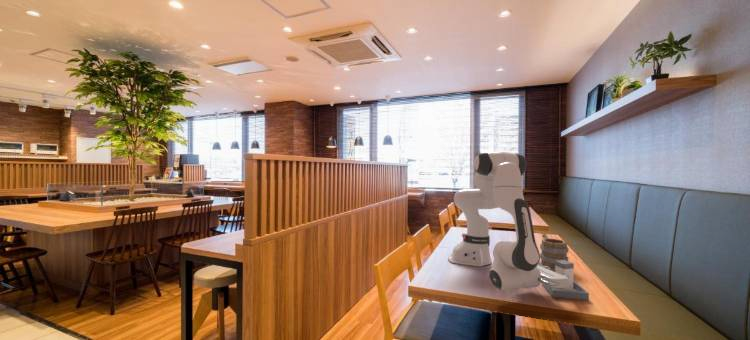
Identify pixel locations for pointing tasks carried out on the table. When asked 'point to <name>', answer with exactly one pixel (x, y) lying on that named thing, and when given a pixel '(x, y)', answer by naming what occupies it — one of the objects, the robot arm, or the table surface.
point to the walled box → (569, 292)
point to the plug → (565, 272)
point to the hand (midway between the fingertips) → (557, 272)
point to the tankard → (552, 252)
